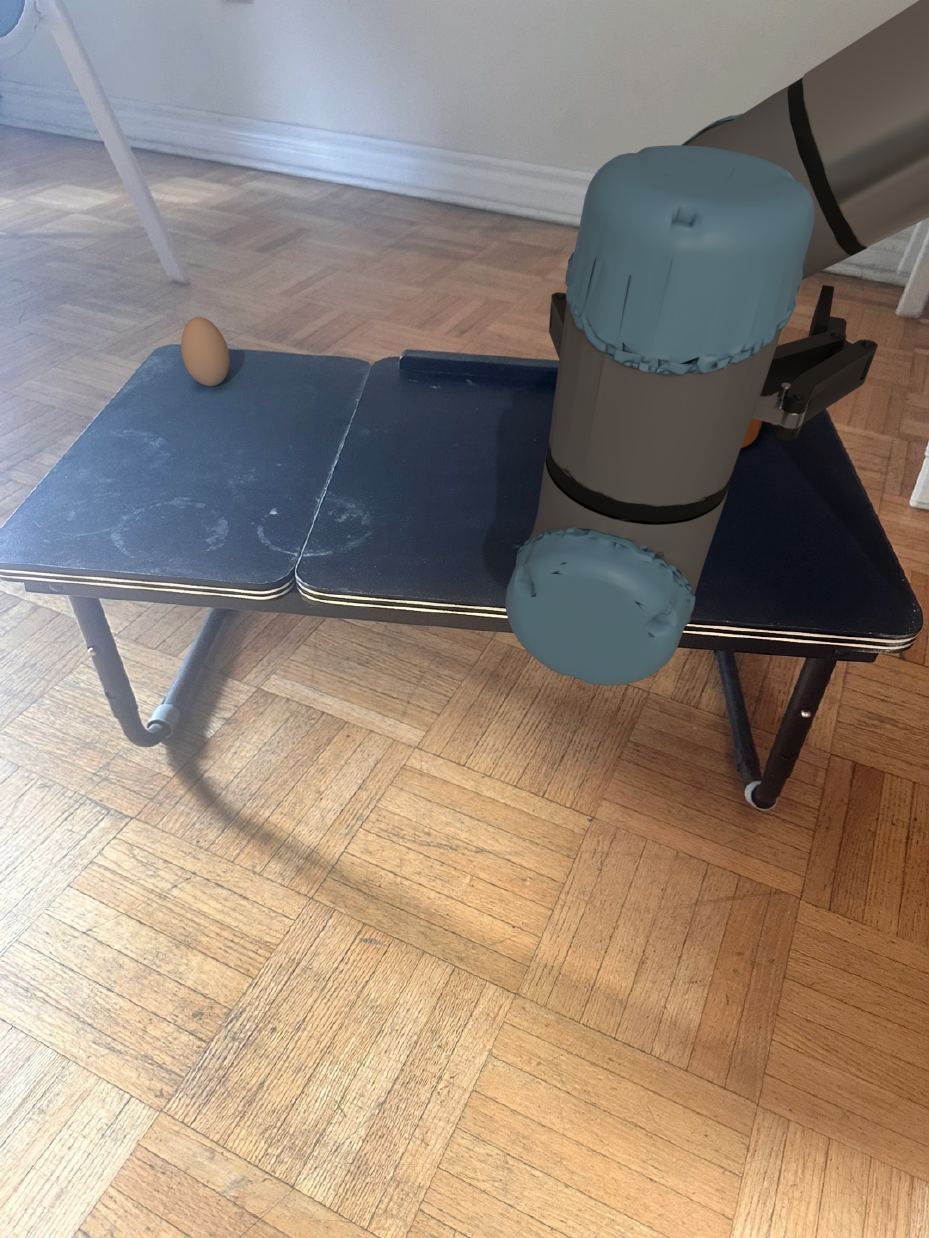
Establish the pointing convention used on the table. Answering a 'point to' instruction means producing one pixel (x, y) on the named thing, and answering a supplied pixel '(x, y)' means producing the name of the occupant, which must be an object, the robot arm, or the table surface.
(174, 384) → the table surface
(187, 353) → the egg
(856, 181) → the robot arm
